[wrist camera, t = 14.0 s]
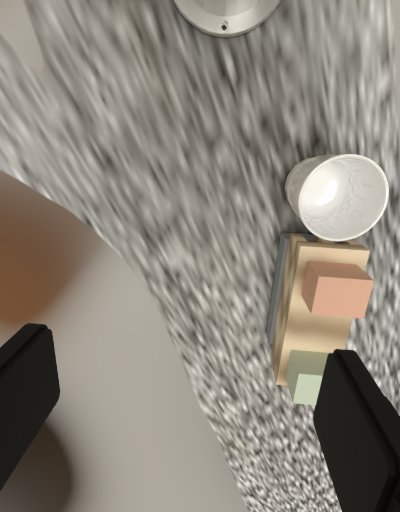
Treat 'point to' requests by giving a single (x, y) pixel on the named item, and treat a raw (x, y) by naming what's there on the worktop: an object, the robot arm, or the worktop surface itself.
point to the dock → (280, 281)
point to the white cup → (337, 195)
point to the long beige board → (296, 311)
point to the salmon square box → (336, 289)
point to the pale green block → (305, 375)
